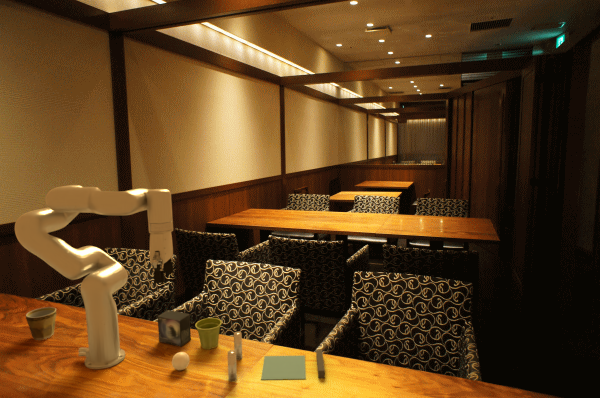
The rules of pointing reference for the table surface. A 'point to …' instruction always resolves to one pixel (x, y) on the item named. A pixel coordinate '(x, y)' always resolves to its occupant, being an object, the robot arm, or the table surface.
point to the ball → (180, 361)
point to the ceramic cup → (41, 322)
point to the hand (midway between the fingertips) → (164, 277)
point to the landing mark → (283, 367)
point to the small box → (174, 328)
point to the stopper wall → (320, 364)
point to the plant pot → (208, 332)
